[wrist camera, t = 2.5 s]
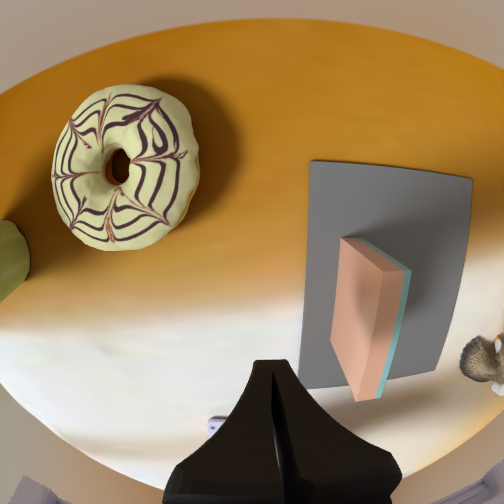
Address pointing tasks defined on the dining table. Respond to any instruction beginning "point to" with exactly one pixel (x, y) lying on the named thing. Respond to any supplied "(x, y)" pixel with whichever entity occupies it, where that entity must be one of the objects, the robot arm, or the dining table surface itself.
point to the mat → (392, 243)
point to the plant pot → (12, 258)
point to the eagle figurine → (484, 364)
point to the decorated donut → (140, 170)
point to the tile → (367, 314)
